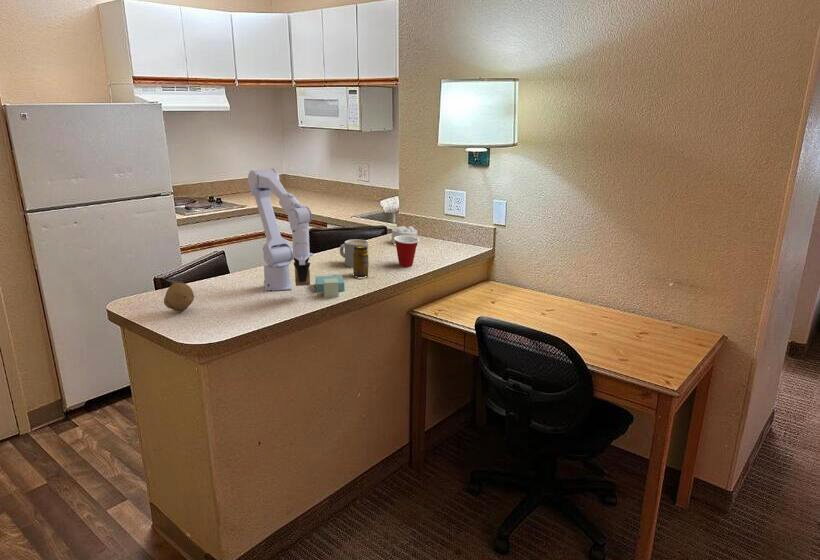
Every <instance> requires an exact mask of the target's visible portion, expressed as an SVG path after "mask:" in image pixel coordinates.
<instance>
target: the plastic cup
mask: <svg viewBox="0 0 820 560" xmlns="http://www.w3.org/2000/svg"><path fill="white" fill-rule="evenodd" d="M394 240H395V243H396V246H395V248H396V254H397V259H398V264H399V266H400V267H402V266H403V268H409V267H412V266H414V265H413V264H414V260H415V255H416V250H417V249H416V248H417V246H418V243H419V242H420V239H419V237H417V238H416V237H412V236H396V237H394Z"/></svg>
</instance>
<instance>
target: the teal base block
mask: <svg viewBox="0 0 820 560" xmlns="http://www.w3.org/2000/svg"><path fill="white" fill-rule="evenodd" d="M333 278H337V280H338V289H339V292H345V281H344V277H343V275H342V274H340V275H339V274H338V275H337V274H336V275H320V276H319V275H317V276H315V286H316V292H317V293H324V285H323V279H333Z"/></svg>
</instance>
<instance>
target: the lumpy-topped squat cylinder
mask: <svg viewBox="0 0 820 560" xmlns="http://www.w3.org/2000/svg"><path fill="white" fill-rule="evenodd" d="M396 236H412V237H416V238H418V230H417V229H415V228H414V226H412V225H410V226H409V225H408V226H407V227H406V226H405V225H401V226H396V227H394V228H392V229H391V244H392V243H393V244H396V243H395V240H394V237H396Z"/></svg>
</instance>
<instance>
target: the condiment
mask: <svg viewBox="0 0 820 560" xmlns="http://www.w3.org/2000/svg"><path fill="white" fill-rule="evenodd" d="M353 274H354V275H353ZM368 274H369V252H368V253H367V246H364V245H357V246H355V247H354V254H353V271H352V273H349V275H350V276H352V277H353V278H356V279H357V280H361V279H369V278H374V277H375V276H374V275H372V274H370V275H369V276H370V277H369V276H368ZM355 276H357V277H355ZM365 276H368V277H367V278H366V277H365ZM358 277H365V278H358Z"/></svg>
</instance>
